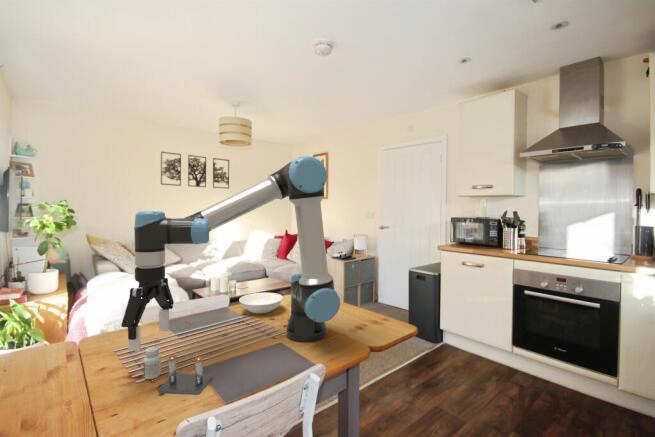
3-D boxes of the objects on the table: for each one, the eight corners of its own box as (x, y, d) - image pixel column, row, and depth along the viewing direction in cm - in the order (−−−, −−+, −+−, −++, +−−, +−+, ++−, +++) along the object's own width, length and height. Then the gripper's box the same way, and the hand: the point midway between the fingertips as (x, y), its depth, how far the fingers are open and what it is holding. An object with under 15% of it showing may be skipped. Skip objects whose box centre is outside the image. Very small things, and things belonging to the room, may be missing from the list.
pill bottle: (148, 372, 95) (147, 346, 94) (163, 371, 95) (163, 345, 95) (140, 380, 90) (140, 352, 90) (157, 379, 91) (156, 352, 90)
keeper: (212, 377, 91) (211, 351, 91) (198, 394, 83) (198, 365, 83) (174, 376, 92) (173, 350, 92) (157, 392, 84) (157, 363, 84)
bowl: (262, 322, 135) (262, 307, 134) (229, 314, 145) (229, 300, 145) (292, 309, 151) (292, 296, 151) (260, 302, 162) (260, 290, 162)
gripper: (162, 258, 104) (163, 323, 105) (104, 274, 79) (104, 359, 80) (185, 259, 103) (185, 324, 104) (133, 275, 79) (133, 361, 79)
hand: (150, 340), depth 92 cm, fingers open, 13 cm apart
